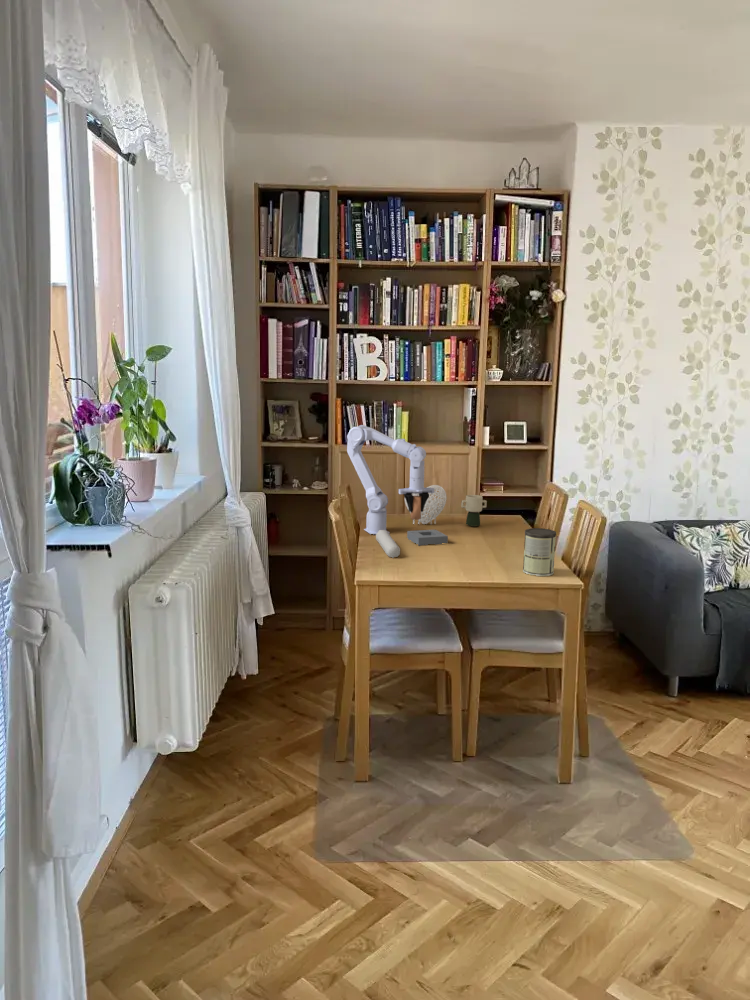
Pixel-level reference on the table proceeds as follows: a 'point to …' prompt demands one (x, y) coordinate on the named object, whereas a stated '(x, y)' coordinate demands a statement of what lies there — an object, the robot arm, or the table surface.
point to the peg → (416, 508)
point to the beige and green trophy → (473, 509)
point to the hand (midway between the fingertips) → (415, 511)
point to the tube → (387, 543)
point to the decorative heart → (432, 505)
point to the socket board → (427, 537)
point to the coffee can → (539, 552)
